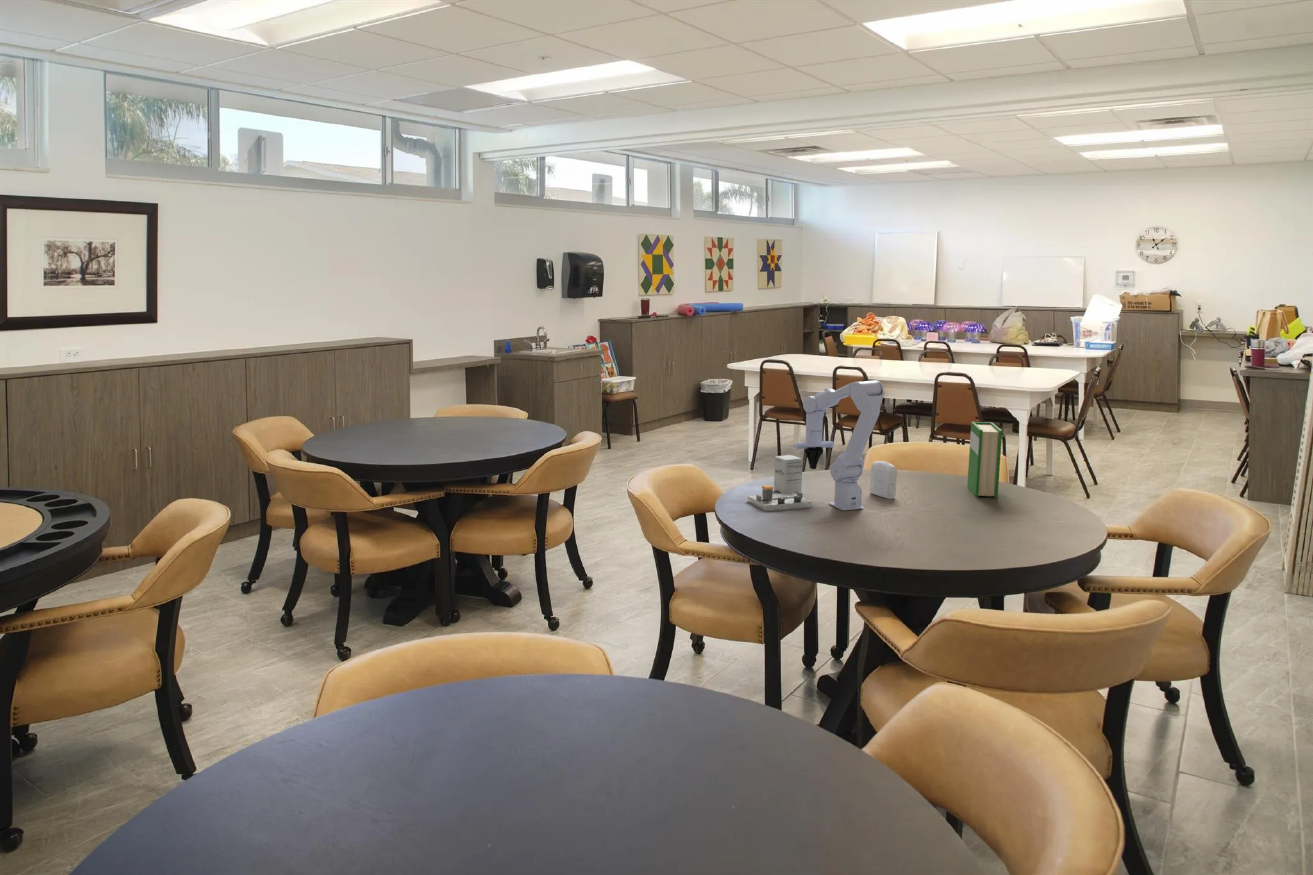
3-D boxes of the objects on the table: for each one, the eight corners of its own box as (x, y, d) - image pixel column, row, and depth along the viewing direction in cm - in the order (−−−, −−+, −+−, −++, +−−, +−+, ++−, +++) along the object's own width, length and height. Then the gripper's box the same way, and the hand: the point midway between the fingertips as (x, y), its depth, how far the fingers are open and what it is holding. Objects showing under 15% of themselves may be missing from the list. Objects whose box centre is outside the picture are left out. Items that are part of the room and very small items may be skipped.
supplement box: (773, 490, 336) (774, 456, 334) (790, 488, 339) (791, 454, 337) (784, 494, 329) (785, 459, 327) (802, 492, 332) (803, 458, 330)
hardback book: (997, 498, 325) (1002, 430, 321) (975, 497, 326) (979, 430, 322) (988, 487, 342) (992, 422, 338) (967, 486, 343) (971, 421, 339)
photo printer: (897, 498, 325) (899, 463, 323) (887, 499, 323) (889, 464, 321) (877, 492, 334) (879, 458, 332) (868, 493, 332) (869, 459, 330)
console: (811, 507, 312) (811, 496, 311) (765, 511, 307) (765, 500, 306) (792, 497, 325) (792, 487, 324) (747, 501, 320) (748, 491, 319)
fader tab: (772, 499, 313) (773, 486, 312) (765, 500, 312) (766, 487, 311) (768, 497, 316) (769, 484, 315) (761, 498, 315) (762, 485, 314)
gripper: (827, 427, 329) (825, 465, 332) (790, 429, 325) (788, 467, 327) (837, 430, 323) (835, 469, 325) (799, 432, 318) (798, 471, 320)
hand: (812, 468), depth 326 cm, fingers closed
